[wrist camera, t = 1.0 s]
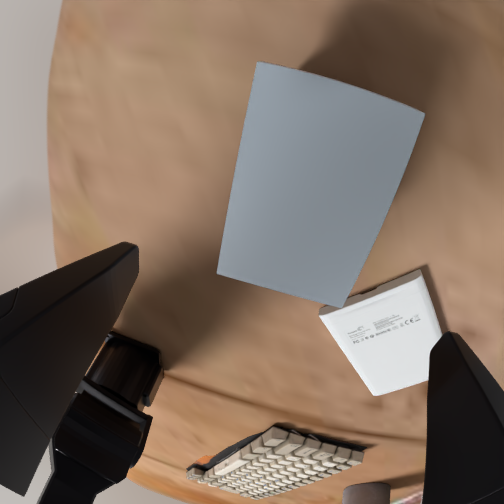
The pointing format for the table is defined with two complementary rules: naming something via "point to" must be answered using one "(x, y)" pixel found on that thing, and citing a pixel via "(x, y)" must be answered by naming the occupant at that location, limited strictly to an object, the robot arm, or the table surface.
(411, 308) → the external hard drive
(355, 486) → the pillar candle
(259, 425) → the table surface
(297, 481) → the mechanical keyboard
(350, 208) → the lid
